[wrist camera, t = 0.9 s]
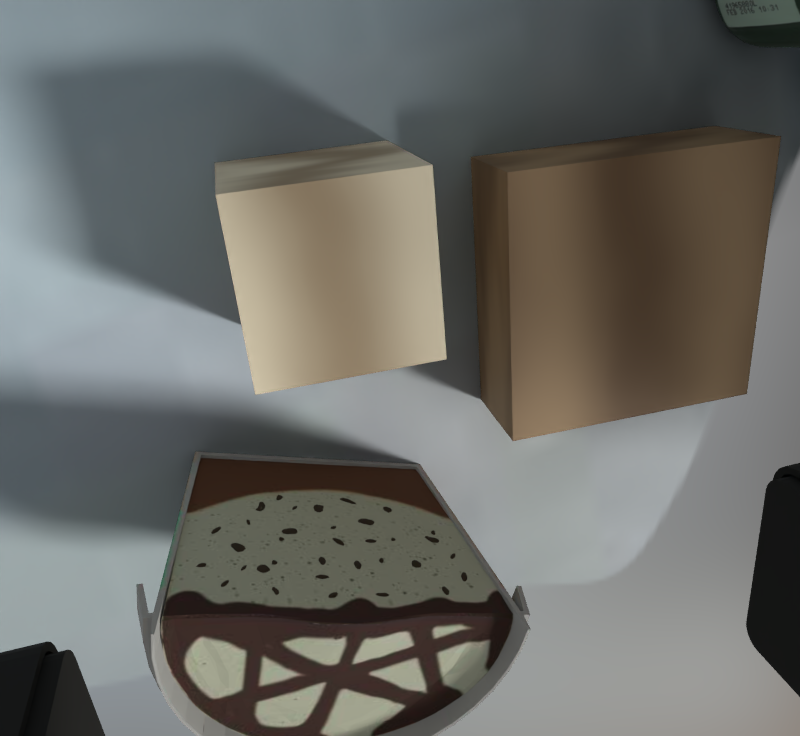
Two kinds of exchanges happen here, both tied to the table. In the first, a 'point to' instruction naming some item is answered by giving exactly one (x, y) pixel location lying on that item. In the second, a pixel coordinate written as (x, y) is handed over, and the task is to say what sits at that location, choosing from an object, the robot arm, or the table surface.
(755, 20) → the coffee jar
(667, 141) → the pedestal
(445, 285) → the table surface
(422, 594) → the food container
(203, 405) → the table surface
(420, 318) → the beech cube
